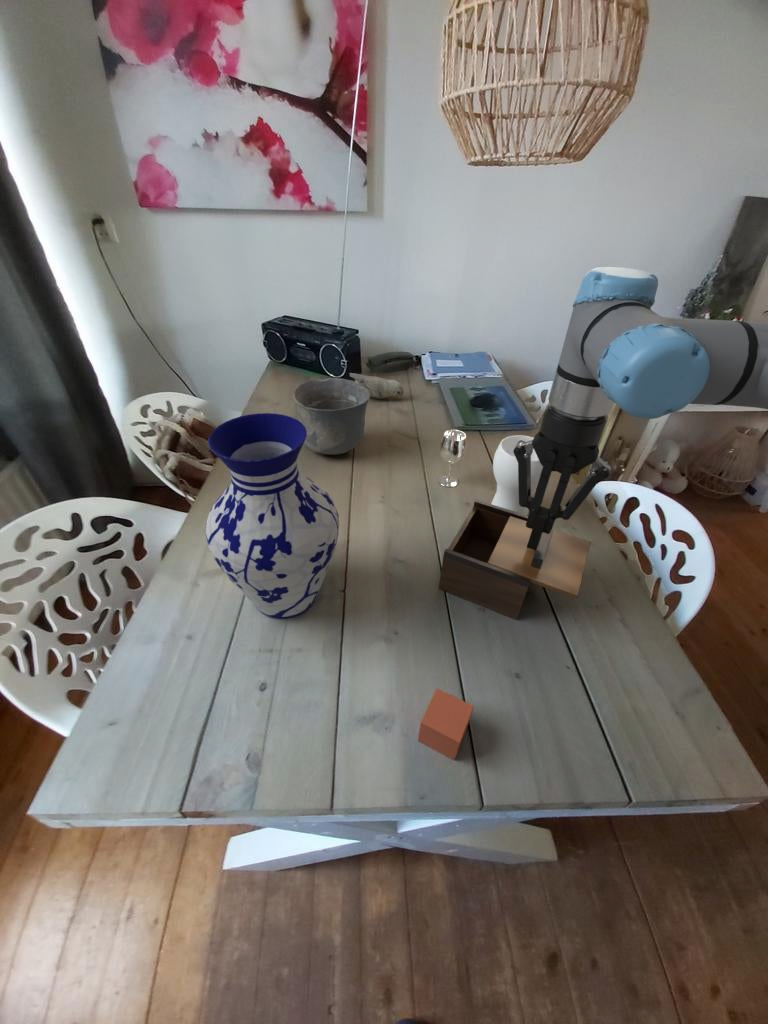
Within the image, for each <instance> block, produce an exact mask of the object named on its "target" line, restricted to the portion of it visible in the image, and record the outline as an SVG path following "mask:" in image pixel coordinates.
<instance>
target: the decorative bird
mask: <svg viewBox="0 0 768 1024" xmlns="http://www.w3.org/2000/svg"><path fill="white" fill-rule="evenodd" d="M349 377H350V378H352V379H354V382H356V383H359V387H361V386H362V387H365V389H367V390H368V391H369V393H370V398H375V399H388V398H389V397H391V396H392V397H396V398H397V399H399V400H401V401H403V399H404V387H403V385H402V383H401V382H399V381H398V380H396V379H387V378H383V377H379V376H372V375H365V374H360V373H355V372H353V373H352V372H349Z"/></svg>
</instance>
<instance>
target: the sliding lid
mask: <svg viewBox="0 0 768 1024" xmlns="http://www.w3.org/2000/svg"><path fill="white" fill-rule="evenodd" d="M526 522H527V521H524V520H521V519H518V518H515V517H512V516H510V517H509V519H508V521H507V523H506V526H505V528H504V530H503V532H502V534H501V536H500V538H499V540H498V542H497V544H496V546H495V548H494V551H493V553H492V555H491V557H490V559H489V561H488V563H487V564H490V565H493V566H496V567H498V568H501V569H504V570H507V571H509V572H512V573H515V574H518V575H520V576H523V577H526V578H529V579H531V581H530V584H534V585H537V586H539V587H542V588H545V589H547V590H550V591H553V592H556V593H559V594H561V595H564V596H566V597H569V598H572V599H575V600H577V599H578V597H579V593H580V589H581V584H582V580H583V576H584V571H585V568H586V563H587V559H588V555H589V552H590V547H591V543H592V542H591V541H590V540H586V539H583V538H581V537H578V536H574V535H571V534H568V533H564V532H561V531H558V530H555V529H553V528H552V530H551V532H550V533H549V534H546V533H543V532H542V535H541V538H540V540H539V543H538V546H537V548H536V550H533V549H530V548H527V544H528V541H529V538H530V535H531V532H532V529H530V528H527V527H526Z"/></svg>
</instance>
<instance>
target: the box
mask: <svg viewBox="0 0 768 1024" xmlns="http://www.w3.org/2000/svg"><path fill="white" fill-rule="evenodd" d="M510 516H512V517H515V518H518V519H521V520H524V521H527V519H528V516H529V515H528V514H527V515H524V514H521V513H517V512H514V511H511V510H508V509H505V508H502V507H498V506H495V505H492V504H491V503H490V502H485V501H482V500H479V499H474V501H473V507H472V508H471V510H470V512H469V513H468V515H467V517H466V518H465V520H464V521H463V523H462V525H461V526H460V528H459V529H458V531H457V533H456V535H455V536H454V538H453V540H452V542H451V543H450V545H449V546H448V548H444V551H443V556H442V563H441V569H440V576H439V583H438V590H440V591H443V592H446V593H448V594H451V595H452V596H456V597H458V598H461V599H463V600H466V601H468V602H470V603H473V604H475V605H478V606H480V607H483V608H485V609H487V610H490V611H493V612H495V613H498V614H500V615H503V616H505V617H508V618H510V619H513V620H515V621H518V617H519V615H520V613H521V609H522V606H523V603H524V601H525V598H526V595H527V592H528V589H529V587H530V584H531V582H530V581H531V579H529V578H526V577H523V576H520V575H518V574H515V573H512V572H509V571H507V570H504V569H501V568H498V567H496V566H493V565H490V564H487V563H488V561H489V559H490V557H491V555H492V553H493V551H494V548H495V546H496V544H497V542H498V540H499V538H500V536H501V534H502V532H503V530H504V528H505V526H506V523H507V521H508V519H509V517H510Z"/></svg>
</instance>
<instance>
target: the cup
mask: <svg viewBox="0 0 768 1024" xmlns="http://www.w3.org/2000/svg"><path fill="white" fill-rule="evenodd" d="M533 439H534V436H530V435H521V434H519V435H510V436H507V437H504V438H503V439H502V440H501V441H500V442H499V444H498V446H497V448H496V451H495V452H494V456H493V461H492V471H493V475H494V480H495V481H496V492H495V494H494V496H493V498H492V501H491V503H490V504H492V505H495V506H498V507H502V508H505V509H508V510H511V511H514V512H517V513H521V514H524V515H527V516H528V515H529V509H528V508H526V507H521V506H520V505H519V481H518V462H517V459H516V457H515V455H514V452H513V451H514V448H515V447H516V445H517V443H518V442H519V441H520V440H523V441H525V442H527V441H530V440H533ZM542 468H543V466H542V465H541V463H540V461H539V459H538V457H537V455H536V452H535V450H534V449H533V453H532V455H531V496H532V495H533V493H534V491H536V489H537V485H538V482H539V479H540V475H541V471H542Z"/></svg>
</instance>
